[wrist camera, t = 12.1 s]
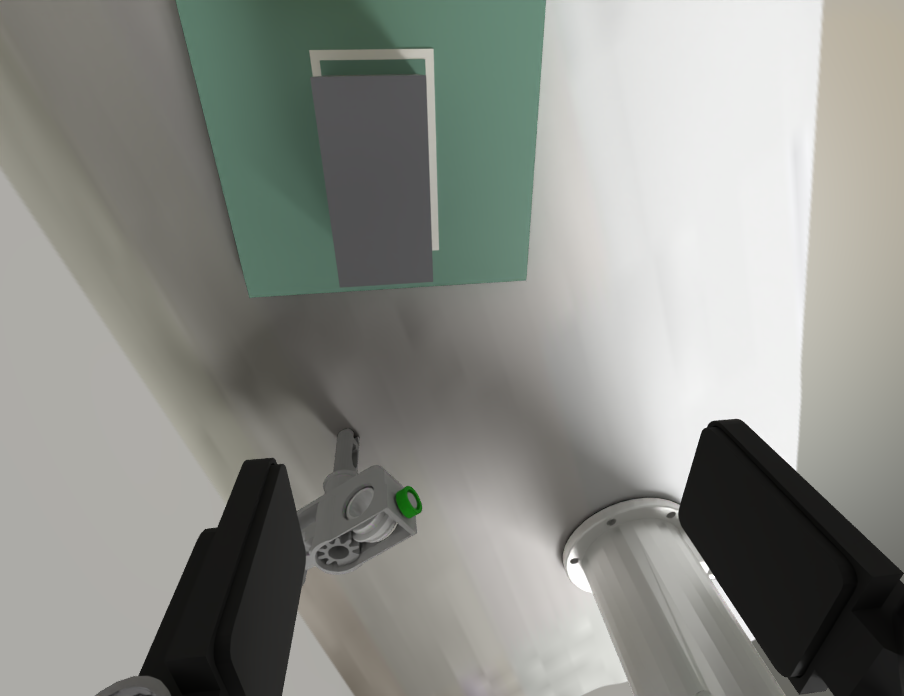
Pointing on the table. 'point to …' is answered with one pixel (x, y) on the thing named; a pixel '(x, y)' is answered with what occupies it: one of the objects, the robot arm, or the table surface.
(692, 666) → the robot arm
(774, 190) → the table surface
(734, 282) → the table surface
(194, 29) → the board
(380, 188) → the block
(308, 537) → the mechanical component
